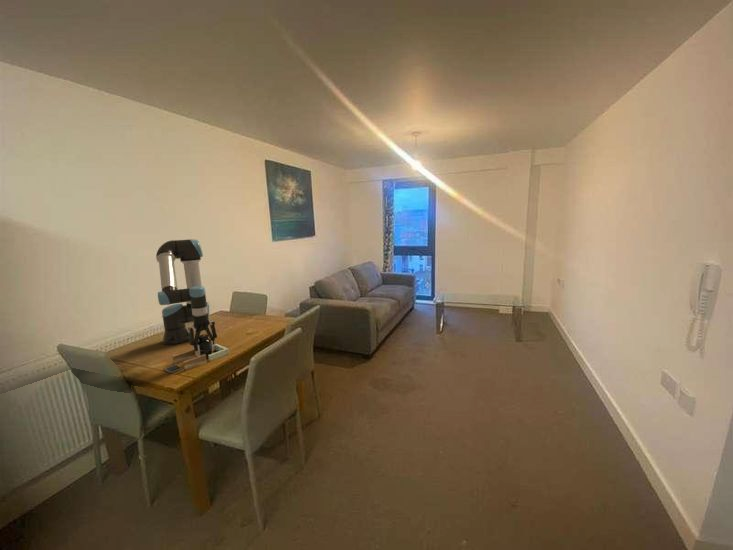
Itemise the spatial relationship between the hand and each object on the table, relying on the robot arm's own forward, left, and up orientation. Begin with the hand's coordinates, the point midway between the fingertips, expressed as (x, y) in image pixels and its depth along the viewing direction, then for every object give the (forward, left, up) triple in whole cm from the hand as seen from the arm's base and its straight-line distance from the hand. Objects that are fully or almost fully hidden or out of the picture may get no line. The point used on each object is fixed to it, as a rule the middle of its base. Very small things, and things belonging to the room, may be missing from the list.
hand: (205, 353), depth 173 cm
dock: (0, +4, -2) cm, 5 cm away
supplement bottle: (0, 0, -2) cm, 2 cm away
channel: (0, -9, -2) cm, 9 cm away
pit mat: (0, -17, -2) cm, 17 cm away
